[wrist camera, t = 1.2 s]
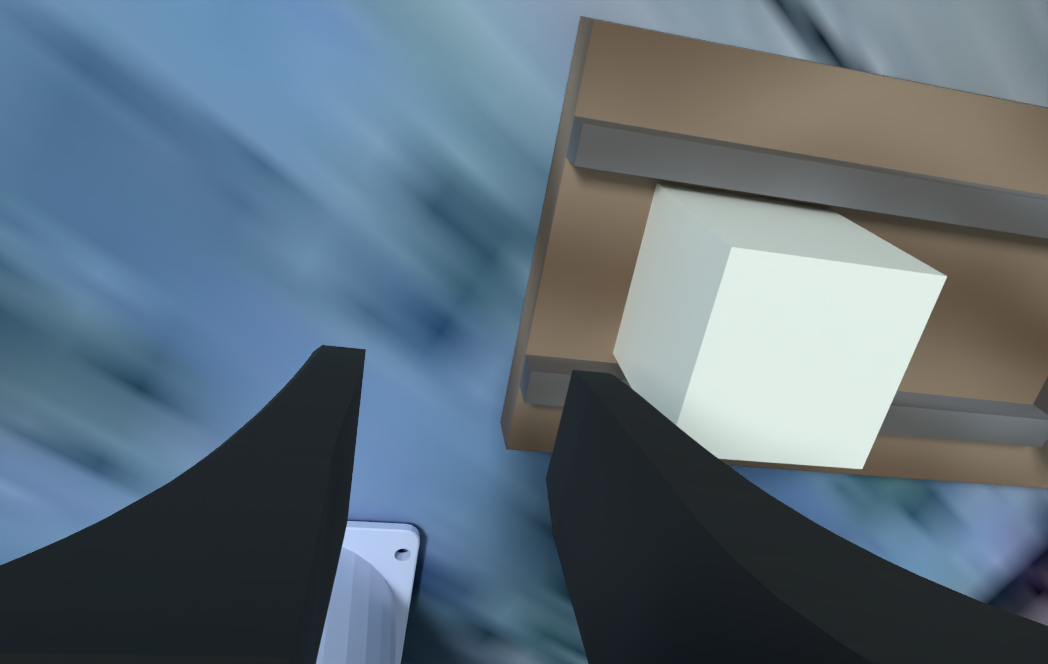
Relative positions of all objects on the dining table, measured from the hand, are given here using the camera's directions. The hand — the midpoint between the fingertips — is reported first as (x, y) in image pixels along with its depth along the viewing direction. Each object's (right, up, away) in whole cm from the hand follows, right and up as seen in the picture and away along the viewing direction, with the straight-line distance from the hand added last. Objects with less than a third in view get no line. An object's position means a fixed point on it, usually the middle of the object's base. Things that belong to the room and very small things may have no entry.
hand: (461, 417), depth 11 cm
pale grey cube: (+6, +3, +10) cm, 12 cm away
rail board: (+12, +3, +12) cm, 17 cm away
